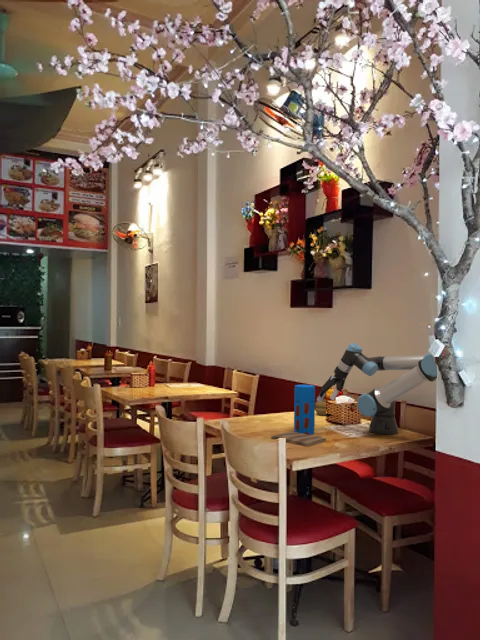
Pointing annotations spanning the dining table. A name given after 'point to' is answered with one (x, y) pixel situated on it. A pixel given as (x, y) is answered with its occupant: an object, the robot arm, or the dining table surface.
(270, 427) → the dining table surface
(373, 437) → the dining table surface
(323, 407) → the pot
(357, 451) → the dining table surface
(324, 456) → the dining table surface
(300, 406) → the thermos
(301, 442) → the serving board
